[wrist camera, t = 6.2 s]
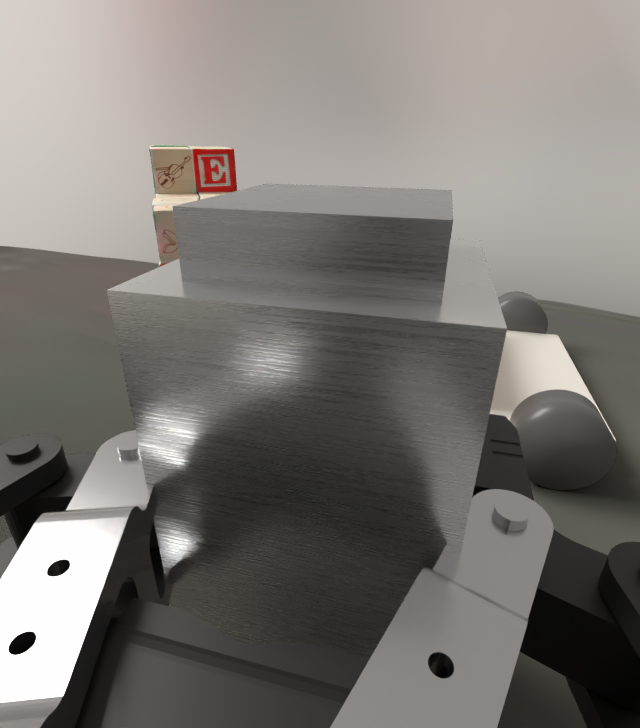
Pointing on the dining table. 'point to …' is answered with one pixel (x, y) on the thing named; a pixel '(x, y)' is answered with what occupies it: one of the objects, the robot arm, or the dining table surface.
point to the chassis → (549, 402)
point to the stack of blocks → (186, 185)
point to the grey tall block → (310, 403)
